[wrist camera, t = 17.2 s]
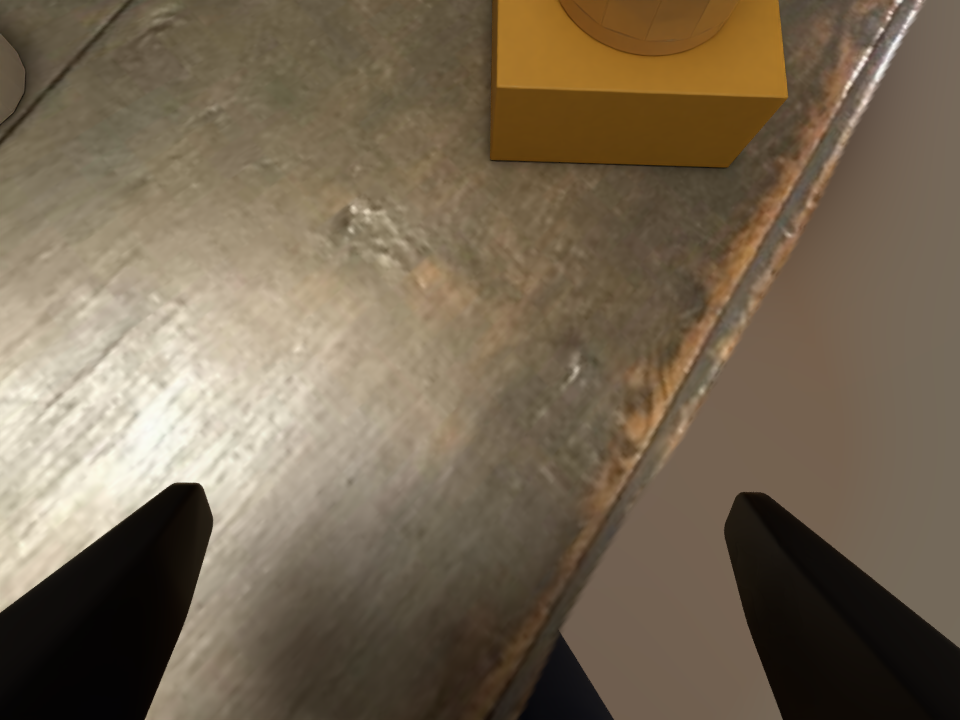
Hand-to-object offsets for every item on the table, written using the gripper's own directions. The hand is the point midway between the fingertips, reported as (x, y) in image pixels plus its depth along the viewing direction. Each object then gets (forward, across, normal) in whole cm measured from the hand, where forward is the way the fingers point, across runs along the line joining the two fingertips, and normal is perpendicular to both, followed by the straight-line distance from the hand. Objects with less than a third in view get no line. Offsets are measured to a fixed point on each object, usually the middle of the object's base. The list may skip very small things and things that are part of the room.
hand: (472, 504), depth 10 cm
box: (+24, -6, -5) cm, 25 cm away
